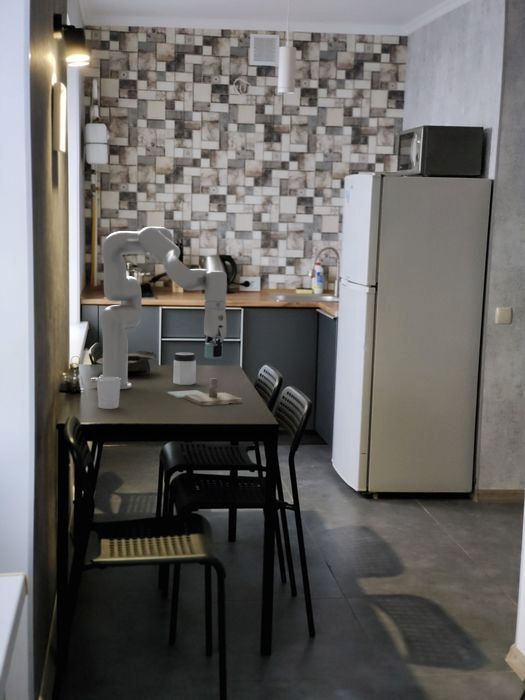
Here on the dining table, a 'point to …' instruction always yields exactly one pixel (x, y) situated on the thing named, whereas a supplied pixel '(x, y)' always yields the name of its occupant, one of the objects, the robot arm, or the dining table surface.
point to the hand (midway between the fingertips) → (213, 354)
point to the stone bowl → (138, 362)
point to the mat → (184, 393)
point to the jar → (184, 369)
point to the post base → (210, 400)
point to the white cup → (108, 392)
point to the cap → (210, 350)
